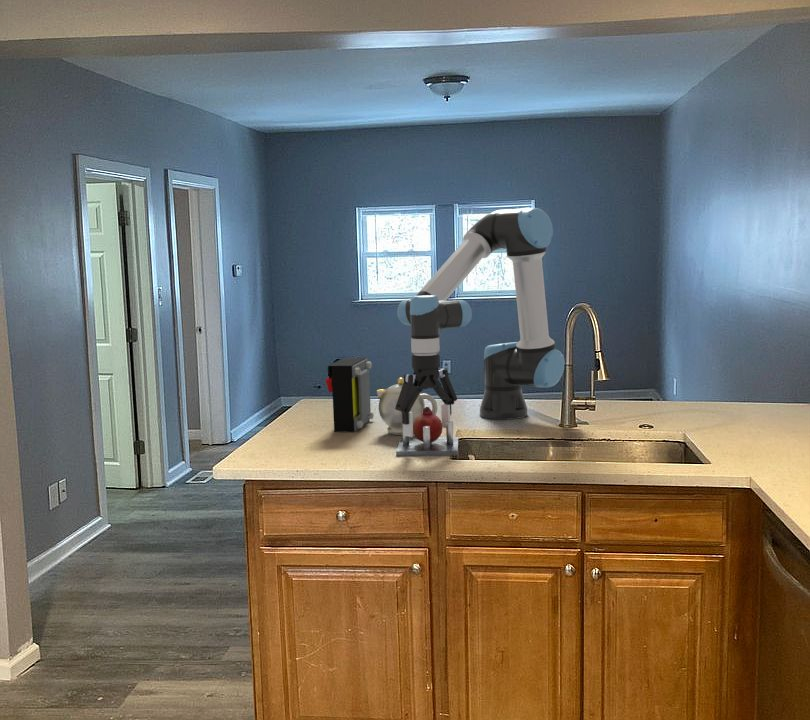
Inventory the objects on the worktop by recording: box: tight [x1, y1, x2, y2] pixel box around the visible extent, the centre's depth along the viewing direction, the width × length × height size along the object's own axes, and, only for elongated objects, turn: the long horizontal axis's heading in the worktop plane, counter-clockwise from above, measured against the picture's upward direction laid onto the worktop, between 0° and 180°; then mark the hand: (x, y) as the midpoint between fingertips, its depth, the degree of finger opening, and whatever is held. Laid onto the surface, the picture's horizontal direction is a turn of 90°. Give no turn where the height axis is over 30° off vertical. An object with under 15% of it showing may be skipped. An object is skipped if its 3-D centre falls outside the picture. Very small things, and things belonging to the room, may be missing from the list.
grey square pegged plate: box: [395, 420, 459, 457], centre depth 228 cm, size 16×16×7 cm
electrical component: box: [325, 357, 374, 433], centre depth 260 cm, size 18×10×20 cm, turn 168°
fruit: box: [413, 406, 443, 443], centre depth 228 cm, size 8×8×10 cm
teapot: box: [376, 377, 438, 436], centre depth 248 cm, size 18×14×16 cm
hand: (427, 432), depth 228 cm, fingers open, 13 cm apart
